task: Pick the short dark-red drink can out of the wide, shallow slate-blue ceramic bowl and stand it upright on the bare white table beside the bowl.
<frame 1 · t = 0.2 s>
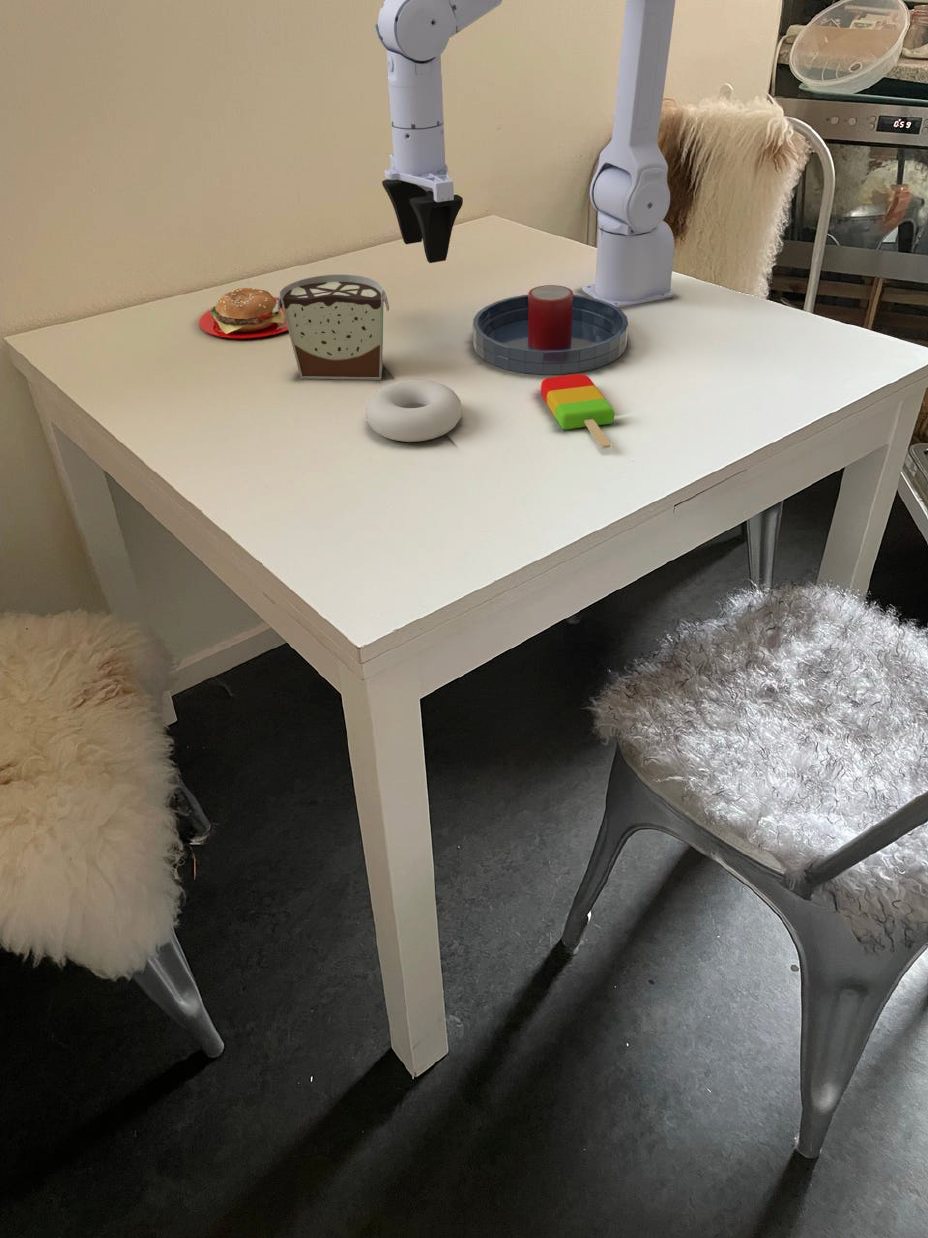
hand: (424, 251, 113), 10 cm above the table, tool pointing down, fingers open, 7 cm apart
popsicle: (582, 422, 100), on the table
donut: (414, 426, 100), on the table
food container: (346, 369, 112), on the table
can: (549, 342, 115), resting on bowl
bowl: (549, 344, 115), on the table
hamburger: (254, 320, 125), on the table
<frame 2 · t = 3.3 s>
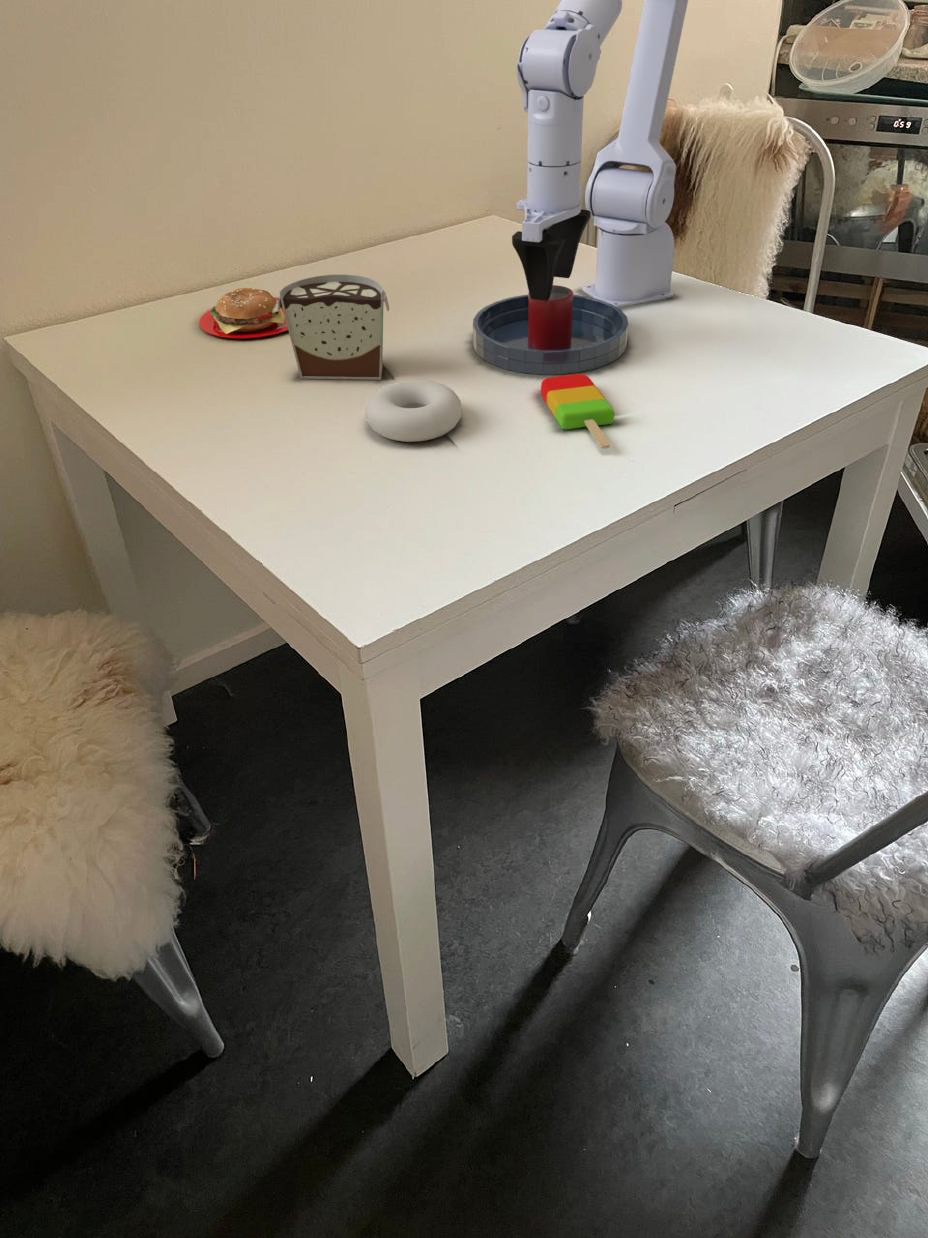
hand: (550, 287, 111), 7 cm above the table, tool pointing down, fingers open, 7 cm apart
nothing on the table moved.
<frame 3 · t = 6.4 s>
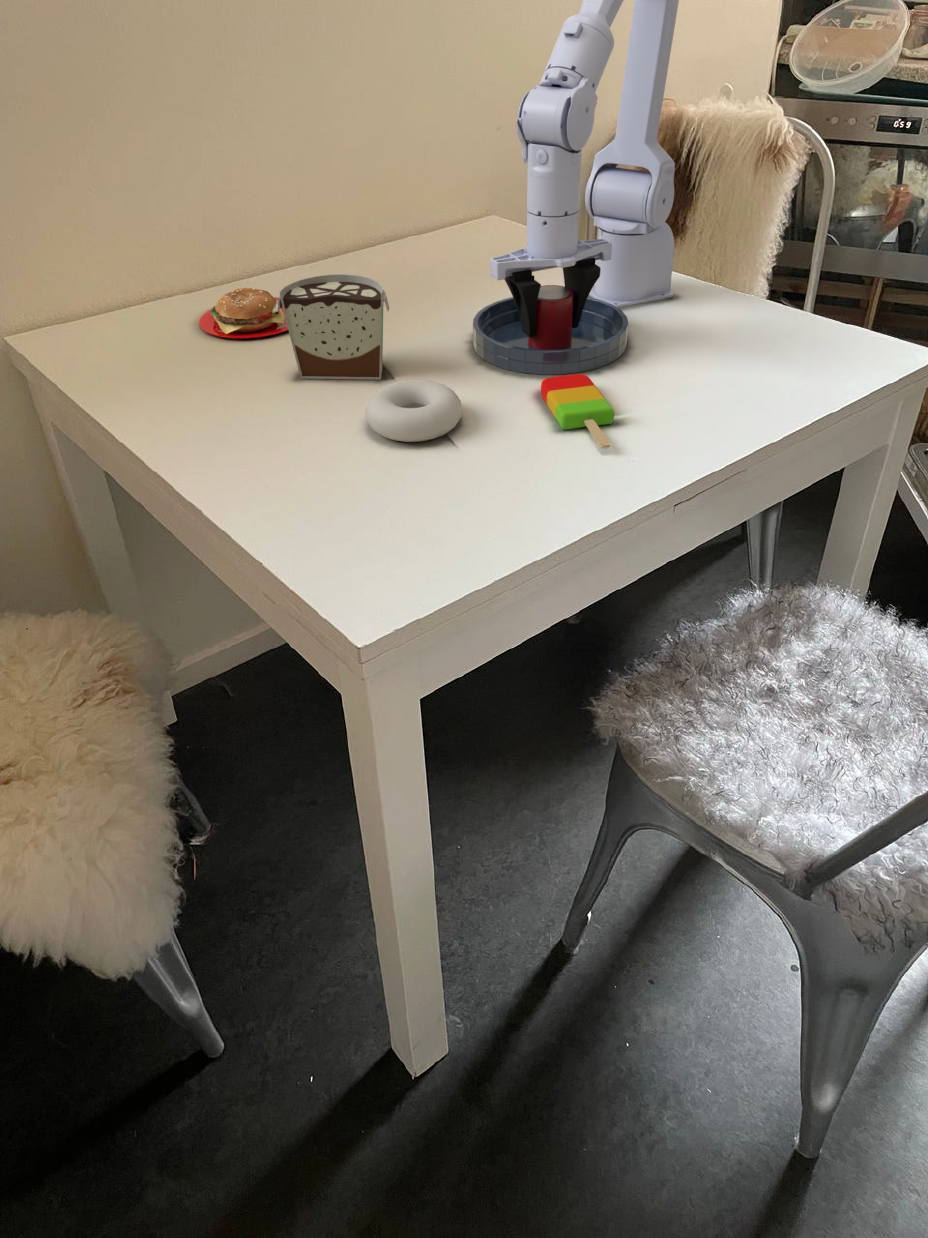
hand: (549, 329, 114), 2 cm above the table, tool pointing down, fingers closed on can, 5 cm apart
can: (549, 342, 115), resting on bowl, touching gripper
everything else where it was.
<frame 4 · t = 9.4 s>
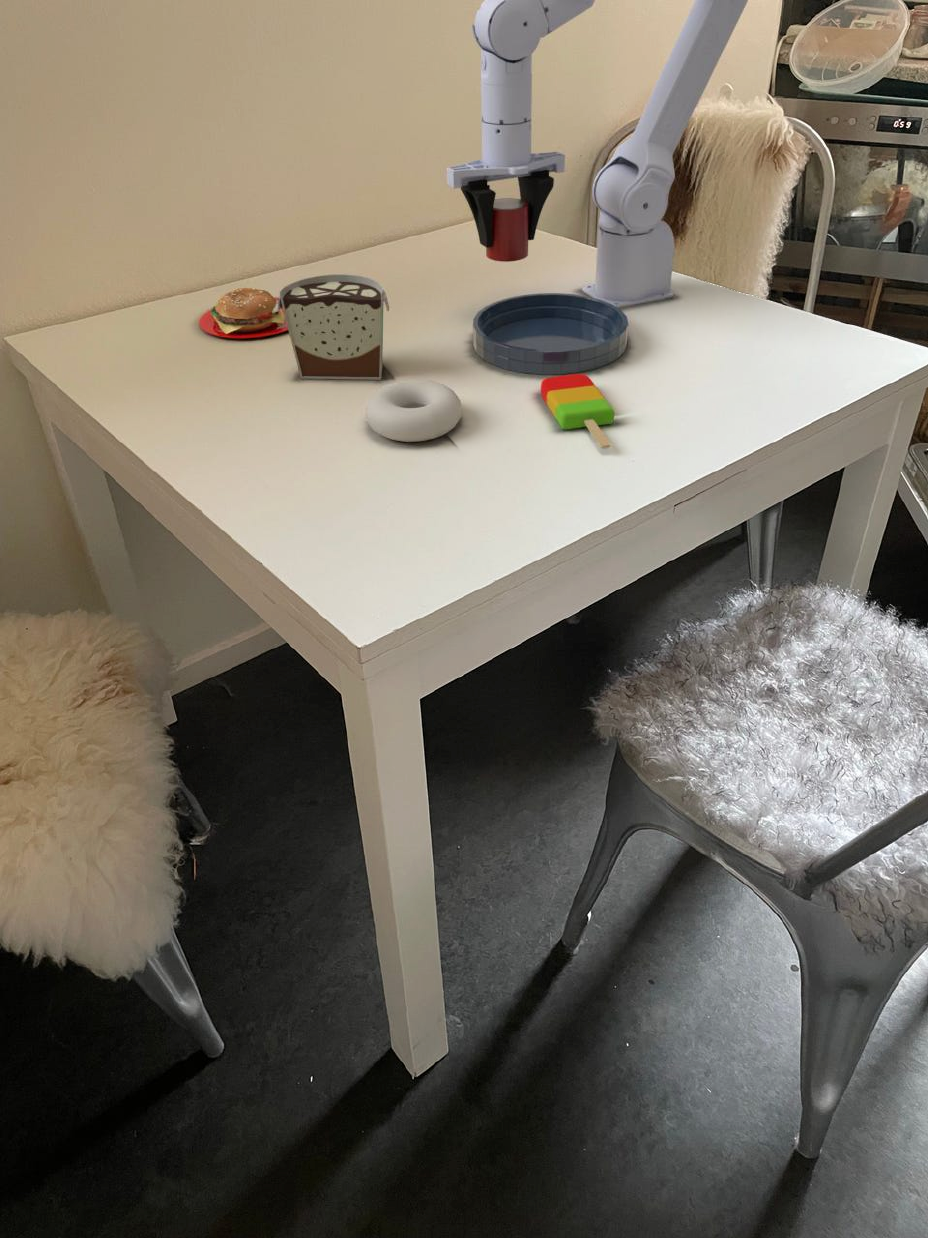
hand: (506, 241, 118), 9 cm above the table, tool pointing down, fingers closed on can, 5 cm apart
can: (507, 254, 119), point 7 cm above the table, touching gripper
everything else where it was.
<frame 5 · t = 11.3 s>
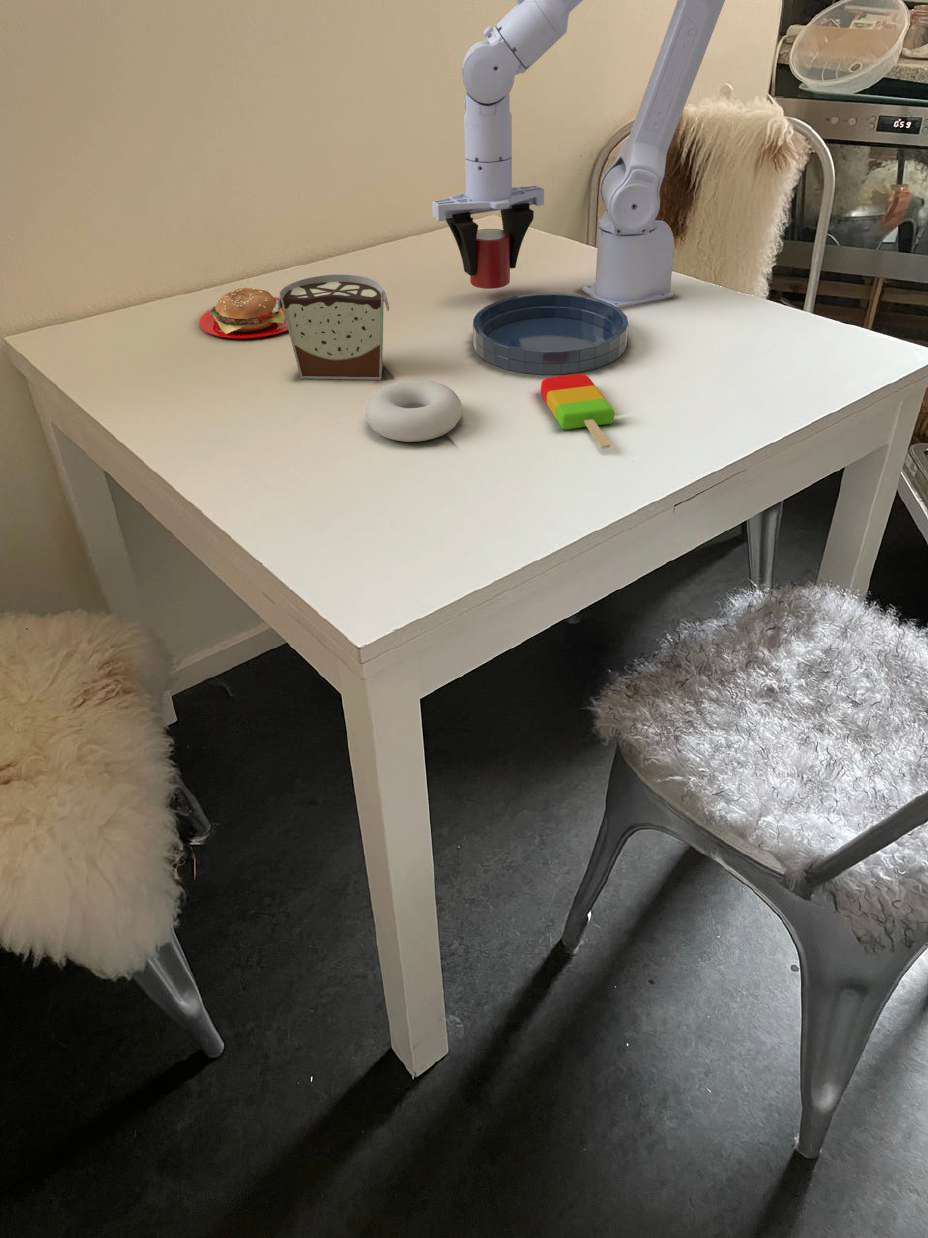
hand: (489, 269, 125), 4 cm above the table, tool pointing down, fingers closed on can, 5 cm apart
can: (490, 281, 126), point 2 cm above the table, touching gripper
everything else where it was.
when the fingers open (2 cm above the table, at t = 12.6 s): can stays where it is, on the table.
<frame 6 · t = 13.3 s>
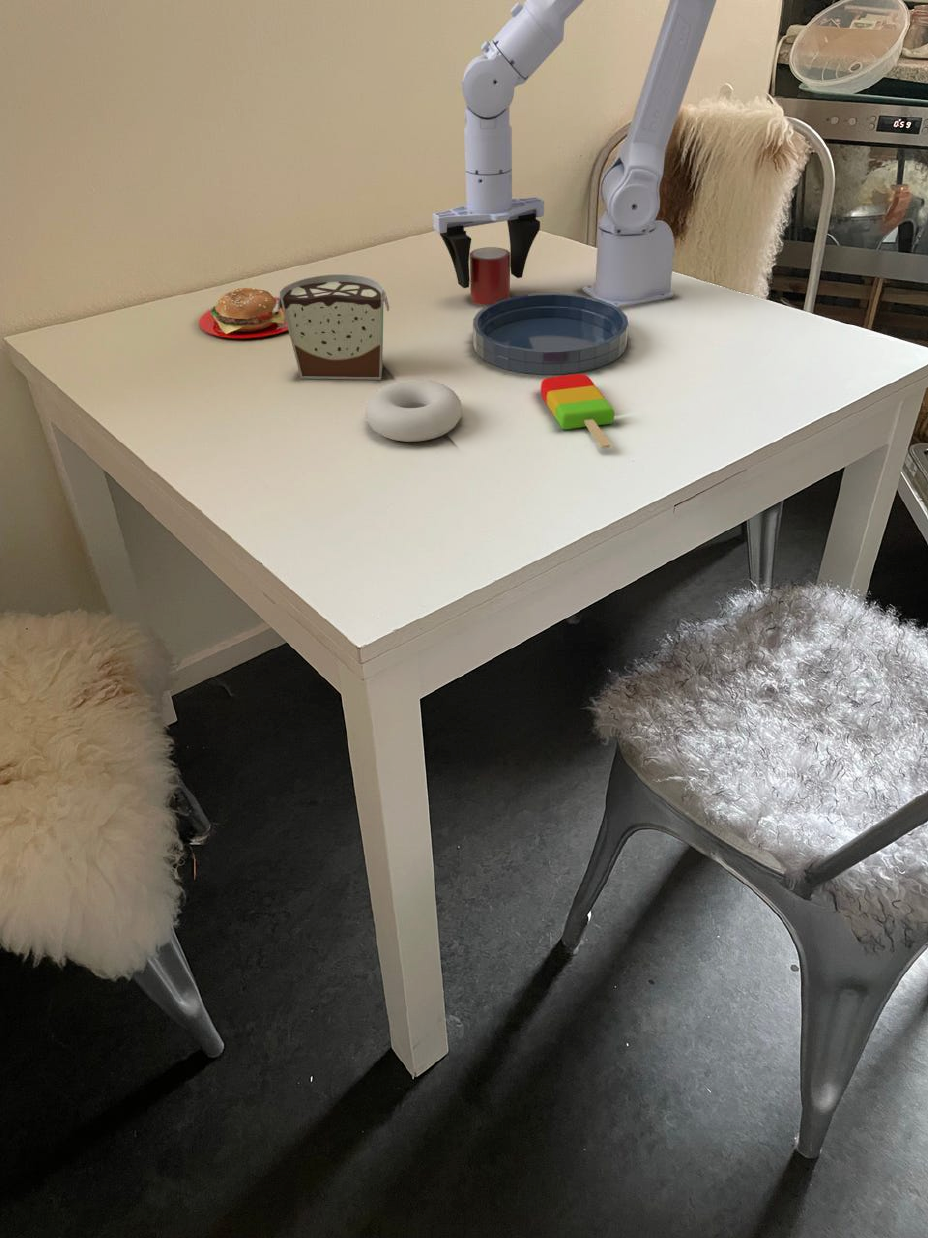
hand: (490, 280, 126), 3 cm above the table, tool pointing down, fingers open, 7 cm apart
can: (490, 299, 128), on the table
everything else where it was.
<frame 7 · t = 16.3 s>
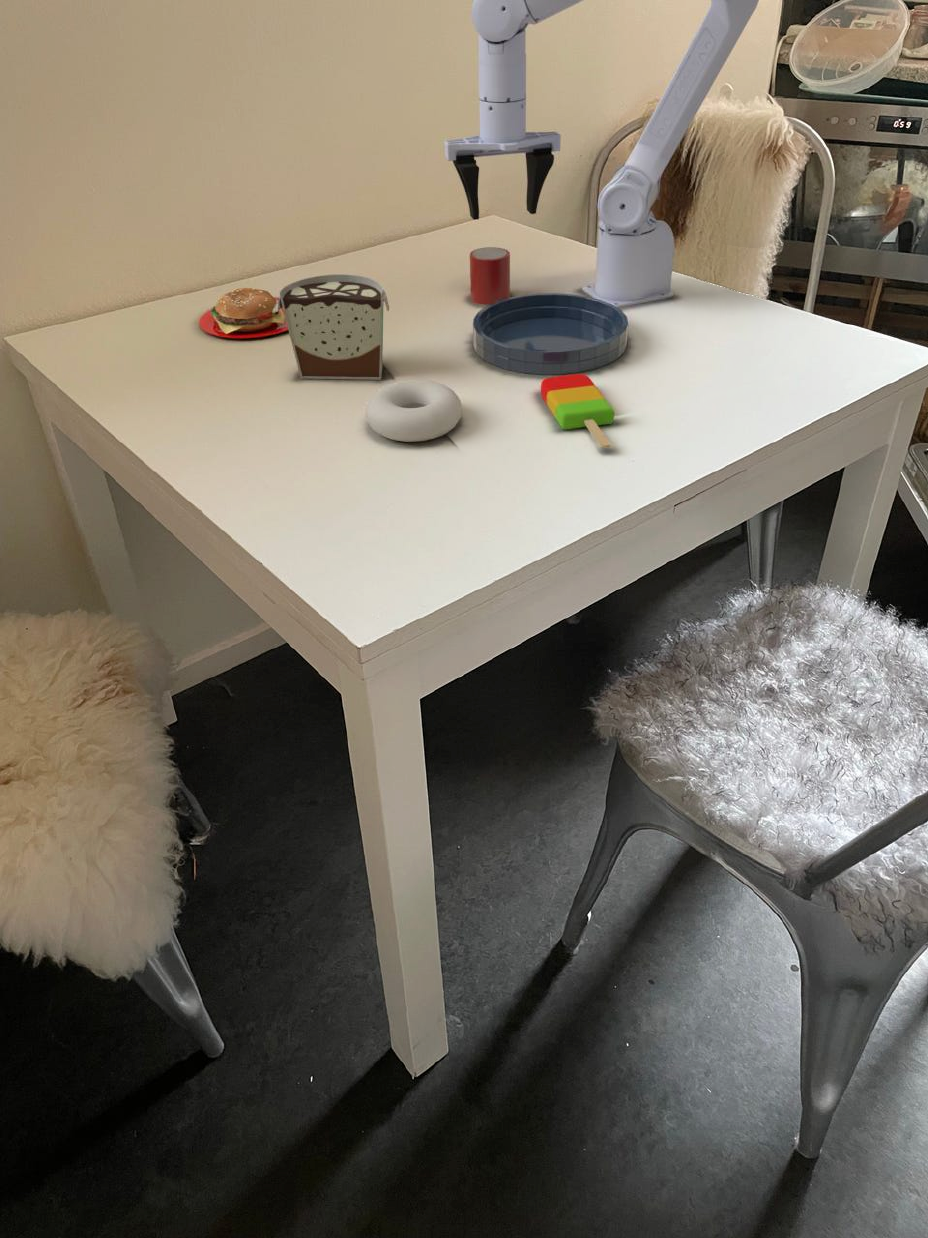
hand: (503, 214, 125), 9 cm above the table, tool pointing down, fingers open, 7 cm apart
nothing on the table moved.
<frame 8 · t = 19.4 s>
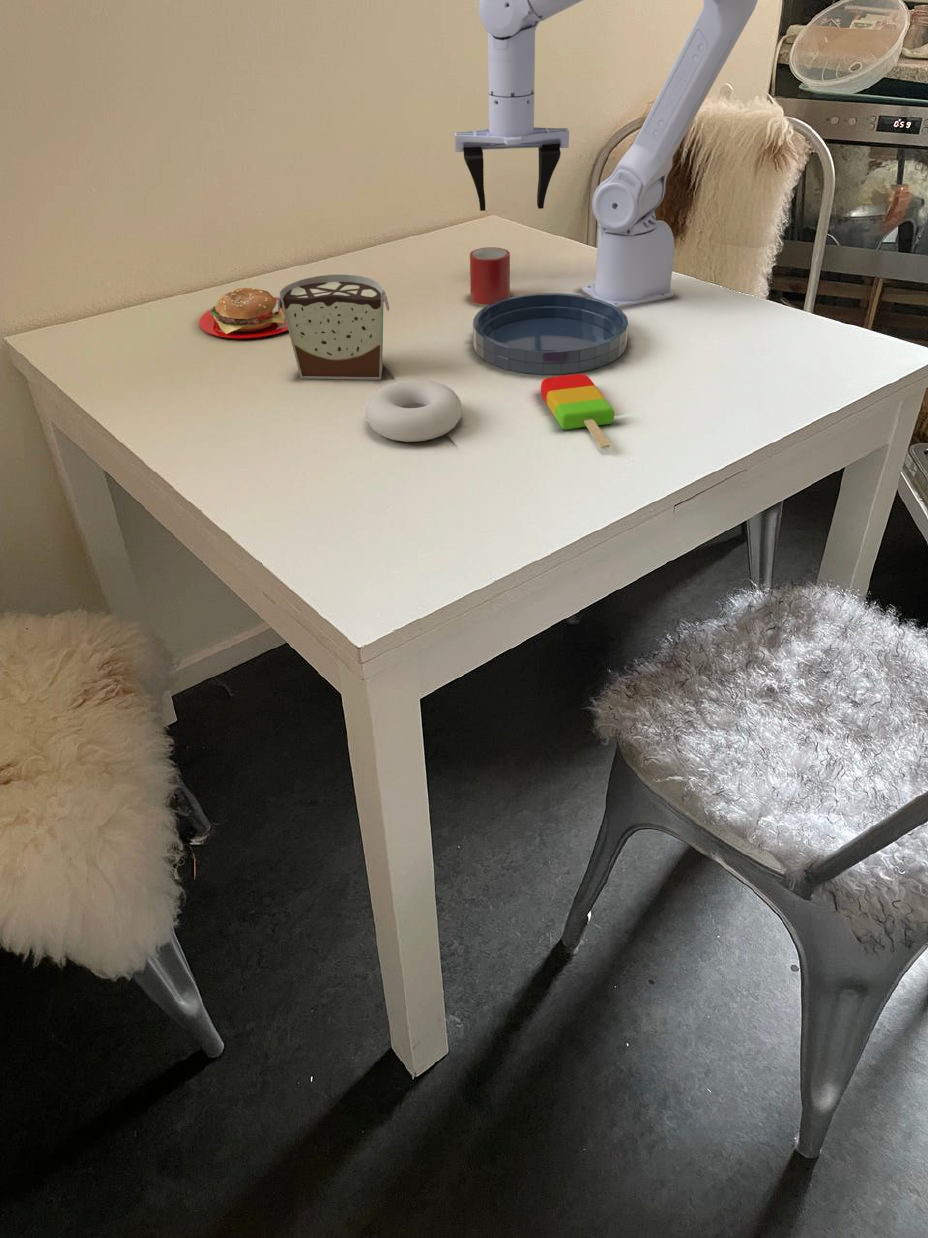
hand: (511, 207, 128), 9 cm above the table, tool pointing down, fingers open, 7 cm apart
nothing on the table moved.
at the end: can inside the target area (0.0 cm from its centre), on the table; can tilted 0°; can touching table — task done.
